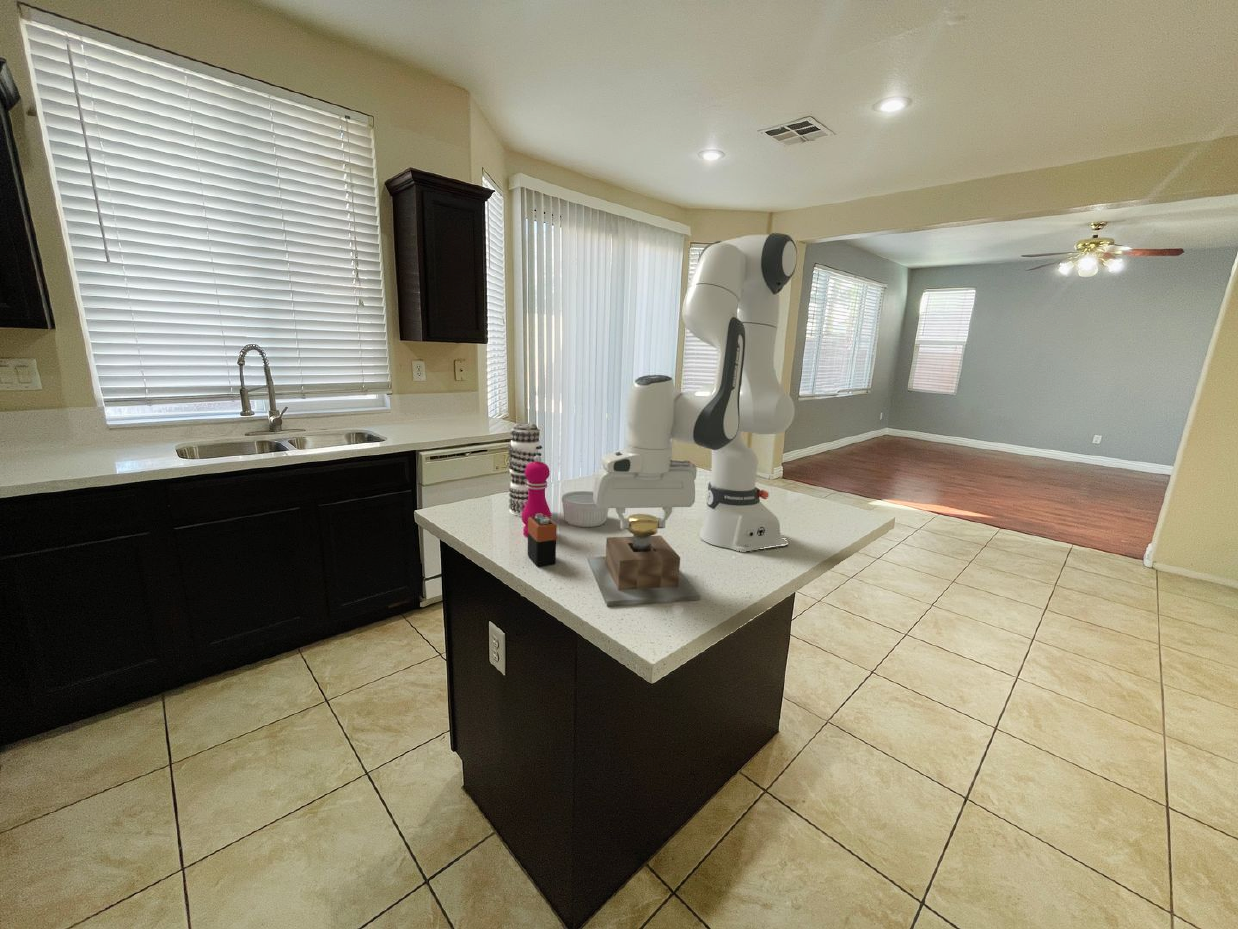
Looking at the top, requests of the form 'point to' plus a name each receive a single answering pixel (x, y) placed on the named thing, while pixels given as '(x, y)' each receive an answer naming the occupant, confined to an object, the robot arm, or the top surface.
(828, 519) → the top surface
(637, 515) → the gold grey cylinder
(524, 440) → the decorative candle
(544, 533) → the battery
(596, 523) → the ramekin
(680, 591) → the board
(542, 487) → the pepper mill
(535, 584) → the top surface
